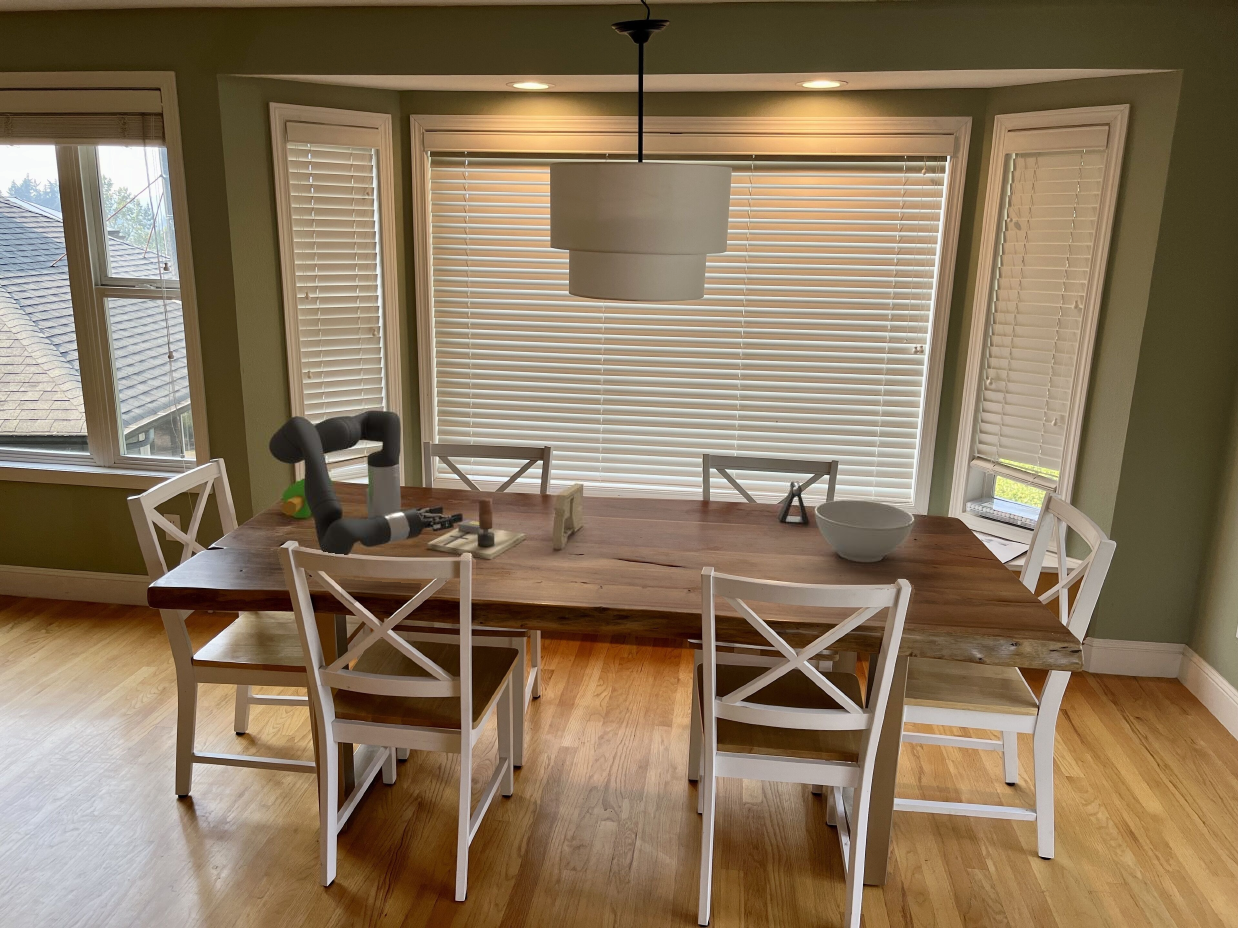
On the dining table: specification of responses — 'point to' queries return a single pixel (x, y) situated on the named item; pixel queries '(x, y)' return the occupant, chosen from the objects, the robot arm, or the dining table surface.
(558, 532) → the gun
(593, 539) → the dining table surface
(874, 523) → the decorative bowl
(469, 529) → the block
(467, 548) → the subfloor panel
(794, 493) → the phone stand
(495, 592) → the dining table surface
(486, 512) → the wooden handled stamp
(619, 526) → the dining table surface
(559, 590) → the dining table surface
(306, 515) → the decorative tree
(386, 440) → the robot arm
